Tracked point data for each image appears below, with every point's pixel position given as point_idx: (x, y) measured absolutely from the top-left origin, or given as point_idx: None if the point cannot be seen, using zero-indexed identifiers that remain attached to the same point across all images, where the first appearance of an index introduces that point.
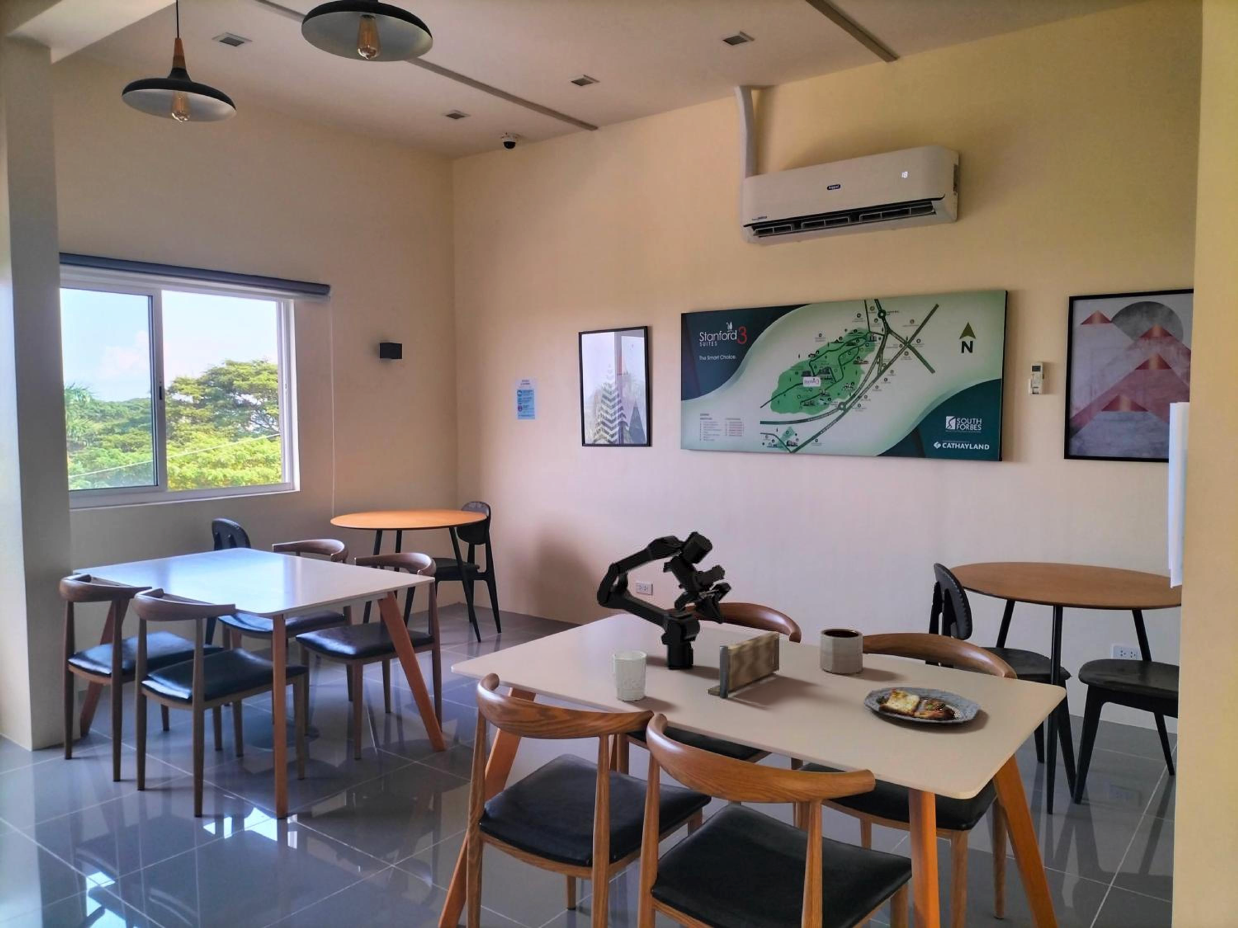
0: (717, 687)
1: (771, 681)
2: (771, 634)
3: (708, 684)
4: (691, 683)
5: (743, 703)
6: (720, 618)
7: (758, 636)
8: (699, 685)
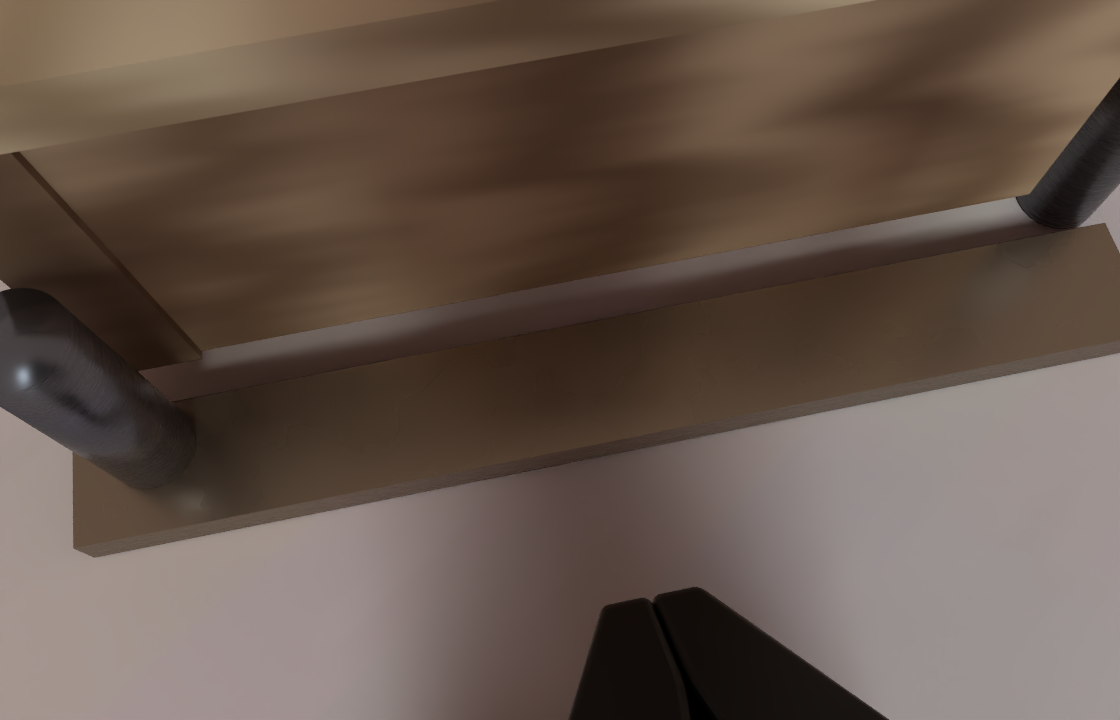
0: (1030, 319)
1: None
2: (46, 3)
3: (955, 564)
4: (1111, 716)
5: None
6: (728, 641)
7: (323, 31)
8: (1067, 598)
